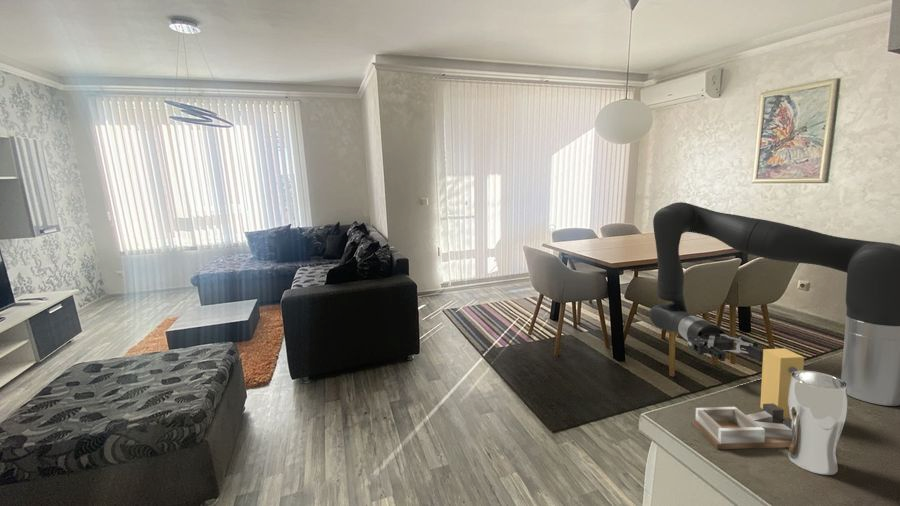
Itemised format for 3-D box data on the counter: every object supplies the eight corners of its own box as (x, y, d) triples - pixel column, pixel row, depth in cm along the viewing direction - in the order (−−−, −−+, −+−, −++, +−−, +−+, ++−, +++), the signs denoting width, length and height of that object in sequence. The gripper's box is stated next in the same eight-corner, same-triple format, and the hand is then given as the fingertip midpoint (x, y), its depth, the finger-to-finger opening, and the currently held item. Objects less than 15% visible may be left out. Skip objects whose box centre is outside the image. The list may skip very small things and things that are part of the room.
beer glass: (783, 444, 68) (788, 366, 66) (838, 459, 64) (845, 376, 62) (785, 466, 63) (790, 382, 61) (845, 484, 59) (852, 394, 57)
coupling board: (773, 421, 75) (774, 402, 74) (809, 446, 67) (810, 426, 67) (691, 423, 76) (692, 405, 75) (716, 449, 68) (717, 428, 67)
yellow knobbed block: (779, 405, 80) (782, 347, 79) (802, 420, 75) (806, 358, 73) (758, 405, 81) (761, 348, 79) (779, 420, 75) (783, 359, 73)
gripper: (673, 320, 103) (711, 342, 87) (727, 318, 103) (775, 340, 87) (673, 346, 104) (710, 373, 88) (726, 344, 104) (773, 370, 88)
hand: (742, 356), depth 87 cm, fingers open, 8 cm apart
